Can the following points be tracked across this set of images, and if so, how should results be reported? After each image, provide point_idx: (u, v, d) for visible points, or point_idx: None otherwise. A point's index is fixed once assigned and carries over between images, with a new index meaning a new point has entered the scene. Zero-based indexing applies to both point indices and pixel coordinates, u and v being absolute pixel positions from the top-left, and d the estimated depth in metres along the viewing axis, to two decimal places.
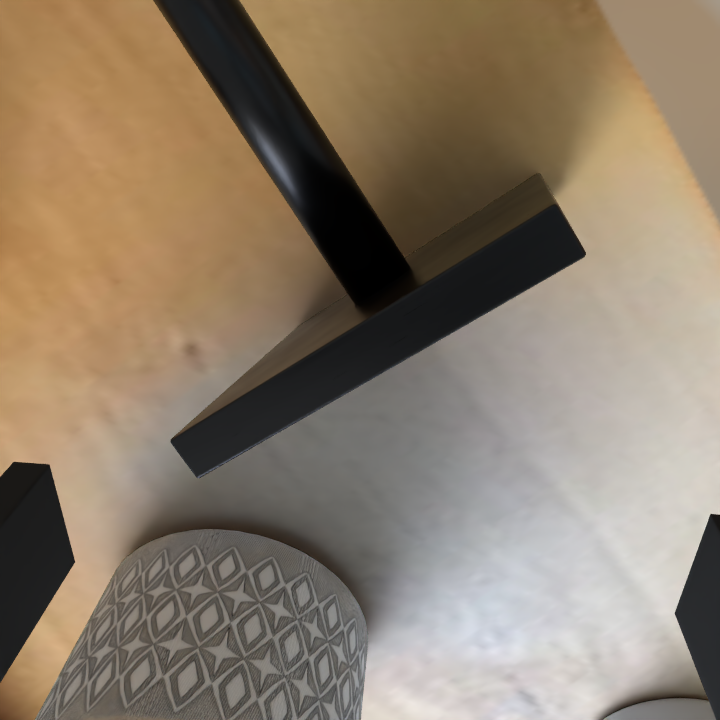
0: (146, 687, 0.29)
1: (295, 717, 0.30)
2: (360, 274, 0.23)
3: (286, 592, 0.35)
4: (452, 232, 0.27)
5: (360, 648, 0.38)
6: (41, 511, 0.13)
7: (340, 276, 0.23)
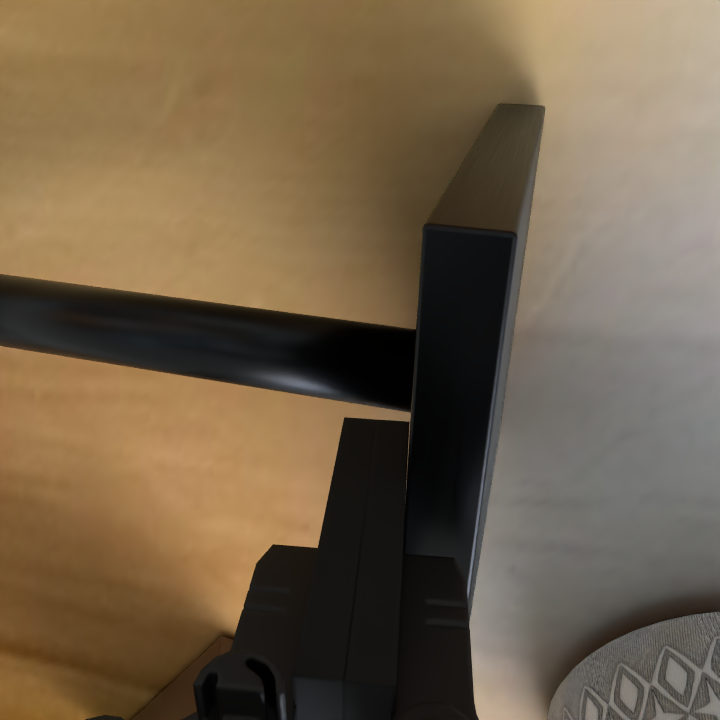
0: None
1: None
2: None
3: (709, 679, 0.27)
4: None
5: None
6: None
7: (404, 410, 0.19)
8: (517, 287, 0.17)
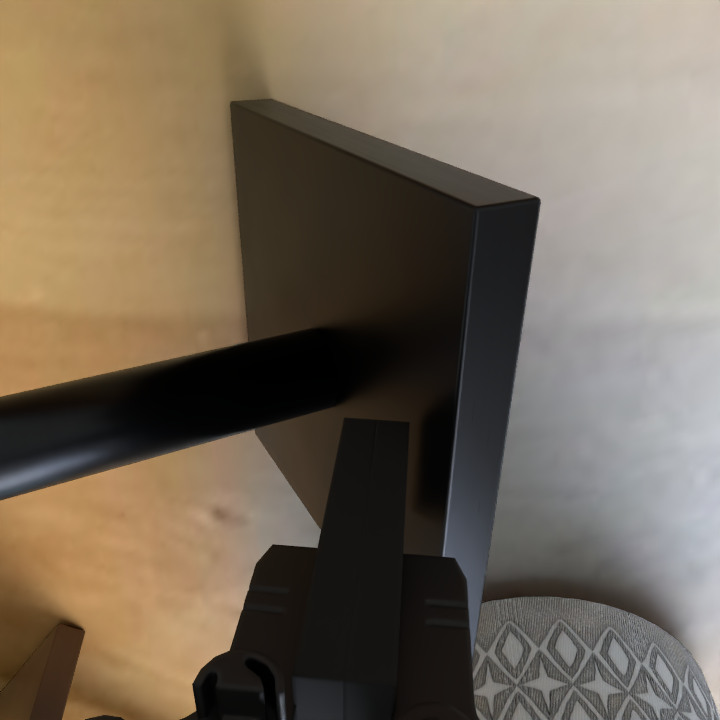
0: None
1: None
2: (310, 397, 0.18)
3: (490, 661, 0.28)
4: (266, 244, 0.21)
5: (642, 656, 0.28)
6: None
7: (296, 416, 0.19)
8: None
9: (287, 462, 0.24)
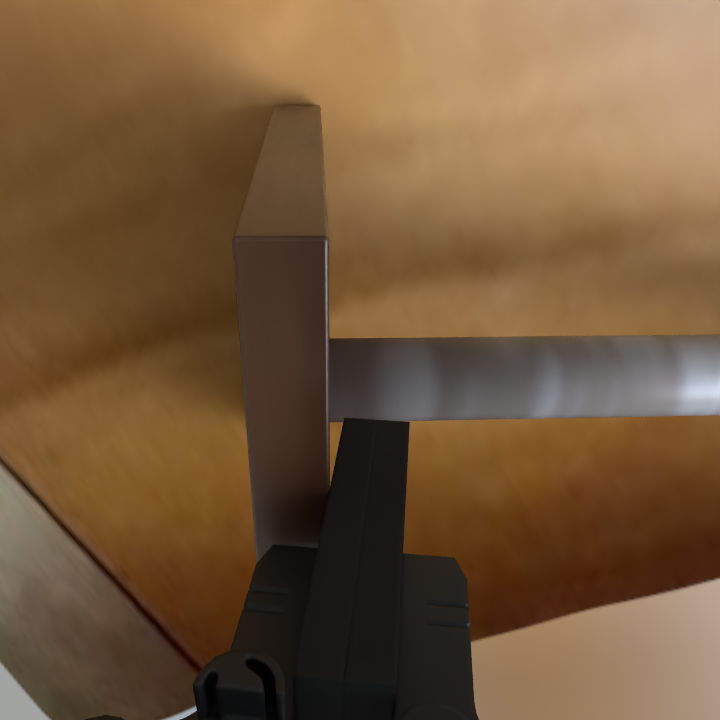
0: None
1: None
2: None
3: None
4: None
5: None
6: None
7: None
8: None
9: None
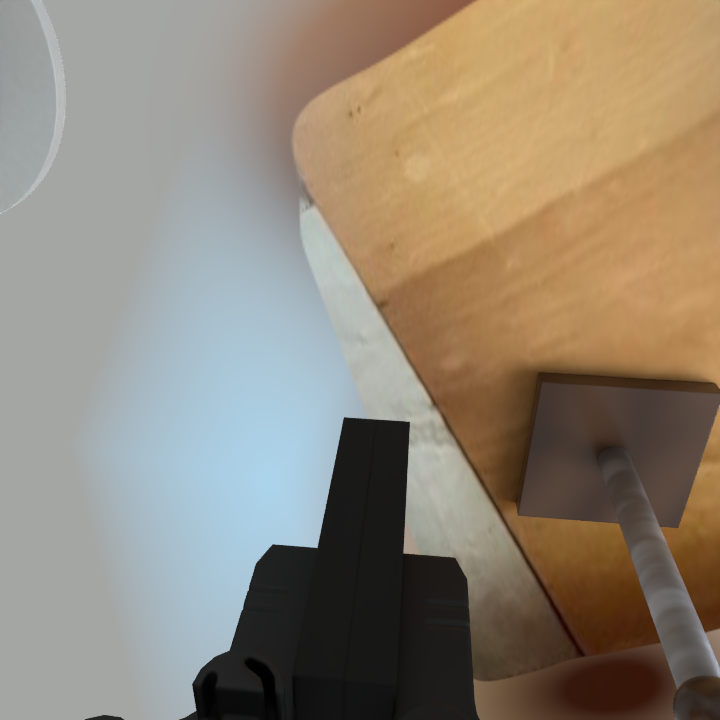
0: None
1: None
2: None
3: None
4: None
5: None
6: None
7: None
8: None
9: None
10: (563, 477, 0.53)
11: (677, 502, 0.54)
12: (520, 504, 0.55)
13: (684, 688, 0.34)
